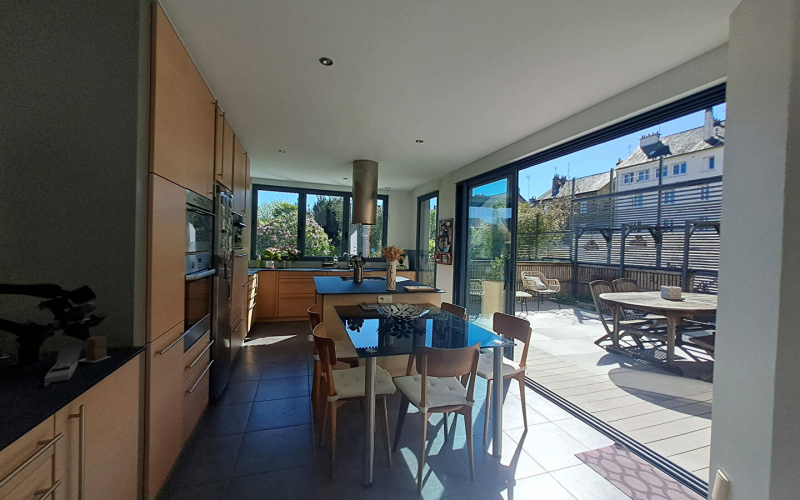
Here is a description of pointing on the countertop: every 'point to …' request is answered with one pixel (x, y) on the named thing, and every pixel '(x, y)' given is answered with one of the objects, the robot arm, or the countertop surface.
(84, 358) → the grey mat
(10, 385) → the countertop surface
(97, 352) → the walnut block
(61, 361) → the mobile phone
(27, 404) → the countertop surface
